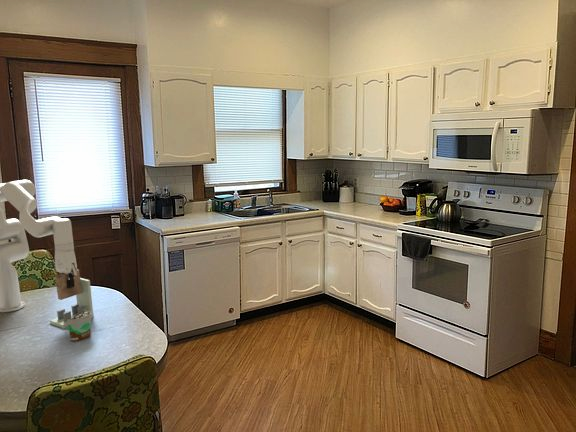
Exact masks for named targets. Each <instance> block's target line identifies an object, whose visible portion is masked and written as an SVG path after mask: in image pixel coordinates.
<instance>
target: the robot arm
mask: <svg viewBox="0 0 576 432" xmlns="http://www.w3.org/2000/svg"><path fill="white" fill-rule="evenodd" d="M36 190H37V189H36V186H35V184H34V183H33V182H32V181H31V180H28V179H22V180H21V179H20V180H13V181H8V182H3V183H2V182H1V183H0V203H4V202H9V204H11V206H13V207H14V208H15V209H16V210H17V211H18V212H19V215H18V216H19V219H17V218H7V219H6V218H5V214H4V211H3V209H2V208H1V207H0V242H4V241H7V240H10V241H9V242H4V243H1V244H0V313H10V312H15V311H18V310H21V309H23V308H25V306H26V303H25V301H22V300H21V299H22V298H21V290H20V283H19V275H18V270H17V268H16V267H15V266H14V265H13V264H12V263H14V262H17V261H20V260H23V259H25V258H27V257H28V256H29V253H30V247H29V243H28V239H27V235H26V232H27V233H28V234H30V235H31V236H32V237H34V238H42V237H47V236H51V235H53V242H54V249H55V250H54V267H55V271H56V272H58V273H59V274H60V273H64V274H67V279H68V280H67V288H68V289H69V288H72V287H74V286H75V284H74V276H75V275H77V272H76V271H77V269H78V264H77V259H76V252H75V247H74V237H73V227H72V226H73V225H72V221H71V219H69V218H66V217H64V218H61V217H59V216H50V217H46V218H41V219H36V218H34V217H33V216H32V215H31V214H33V212H34V211H35V210H36V209H37V206H38V201H37V199H36V198H35V197H34V196H35V195H36ZM69 274H70V276H69Z"/></svg>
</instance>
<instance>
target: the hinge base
mask: <svg viewBox="0 0 576 432" xmlns="http://www.w3.org/2000/svg"><path fill="white" fill-rule="evenodd" d="M80 282H81V291H82V293H81V294H78V295H75V296H76V304H73V305H71V310H68V311H66V309H65V308H62V309H59V310H56V313H57V317H55V318H53V319H50V320H49V323H50V324H51V325H53V326H55V327H59V328H61V329H66V328H68V325H67V319H68V320H70V319H72V318H73V317H75V316H76V315H78V314H80V313H82V312H83V311H84V309H87V310H89V311H90V312H91V315H92V318H95V316H94V309H93V299H92V288H91V280H90V279H86V278H82V277H80Z"/></svg>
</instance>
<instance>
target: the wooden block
mask: <svg viewBox="0 0 576 432" xmlns="http://www.w3.org/2000/svg"><path fill="white" fill-rule="evenodd" d="M76 272H77V275H75V276H74V284H75V286H74V287H72V288H69V289H68V288H67V280H68V279H67V274H64V273H60V272H59V273H58V274H55V275H54V276H55V283H56V286H55V287H56V292H57V293H56V294H57V300H60V301H63V300H65V299H68V298H71V297H74V296H76V295H78V294H81V293H82V291H81V282H80V278H81V275H80V274H81V273H80V269H78V268H77V271H76ZM69 276H70V274H69Z"/></svg>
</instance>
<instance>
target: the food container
mask: <svg viewBox="0 0 576 432" xmlns="http://www.w3.org/2000/svg"><path fill="white" fill-rule="evenodd" d="M92 318H93V317H92V315H91V312H90V311H89V310H87V309H84V311H83V312H82V313H80V314H78V315H76V316H75V317H73V318H72V319H70V320H68V319H67V325H68V327H67V328H68V332H69V333H68V334H69V339H70V342H71V343H75V342H81V341H85V340H87V339H89V338H90V337H91V335H92V334H91V319H92Z"/></svg>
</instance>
